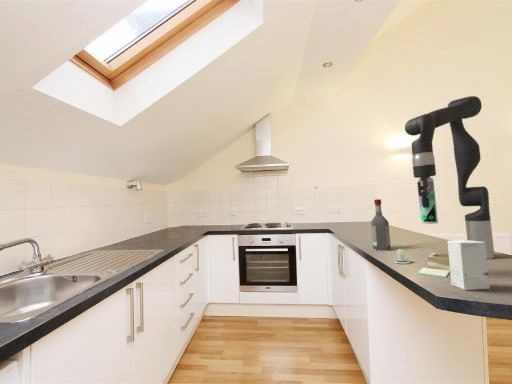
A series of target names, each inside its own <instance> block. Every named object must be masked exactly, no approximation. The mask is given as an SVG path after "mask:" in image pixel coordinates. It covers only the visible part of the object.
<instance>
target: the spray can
mask: <svg viewBox="0 0 512 384" xmlns="http://www.w3.org/2000/svg"><path fill="white" fill-rule="evenodd" d="M416 181H417V183H416V184H417V185H418V181H420V178H417V180H416ZM434 182H435V181H434V178H433V177H427V184H428V185H429V183H430V192H429V197H428V198H429V207H423V206H422V198H421V196H420V195H419V188H418V187H417V193H418V203H419V213H420V215H419V216H420V222H421V224H424V225H425V224H428V225H432V224H433V225H434V224H438V223H439V221H438V212H437V200H436V191H435V184H434ZM427 189H428V187H427ZM423 193H425V192H423Z"/></svg>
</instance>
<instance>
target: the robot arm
mask: <svg viewBox="0 0 512 384" xmlns="http://www.w3.org/2000/svg"><path fill="white" fill-rule="evenodd" d="M481 111H482V100H481V99H480V98H479V97H478V96H474V95H471V96H470V95H469V96H466V97H461V98H457V99H454V100H450V102H449V103H447V106H446V107H442V108H438V109H435V110H433V111H430V112H428V113H423V114H422V115H419V116H415V117H413V118H411V119H409V120H408V121H406V123H405V125H404V131H405V133H406V134H407V135H410V136H418V138H417V139H415V140H414V141H412V142H411V154H412V159H411V160H412V161H411V164H412V172H413V173H412V174H413V177H414V178H415V179H416V178H417V179H420V181H417V182H418V184H417V189H418V188H419V194H418V196H419V195H420V196H421V198H422V206H423V207H429V198H428V197H429V192H430V183H429V185H428V184H427V177H430V178H432V177H435V176H437V171H436V170H437V169H436V161H435V155H434V150H433V139H434V135H435V131H436V128H439V127H442V126H444V125H447V124H449V127H450V131H451V136H452V143H453V144H452V145H453V153H454V163H455V168H456V175H457V187H458V189H457V190H458V199H459V201H458V202H459V204H460V205H461V206H462V207H479V209H477V210H475V211H473V212H470V213H467V214H465V215H464V221H465V222H464V223H465V232H466V233H465V234H466V239H467V240H472V241H480V242H485V245H486V255H487V260H488V259H491V260H492V259H495V258H496V255H495V246H494V237H493V229H492V220H491V214H490V213H491V212H490V199H489V198H490V197H489V196H490V195H489V190H488V188H487V187H486V186H469V187H467V184H468V181H469V179H470V177H471V175H472V174H473V172H474V171H475V169H476V168H477V167H478V165H479V163H480V162H481V150H480V145H479V143H478V141H477V140H475V138H474V137H473V136H472V135H471V134H470V133H469V132H468V131H467V130H466V129H465V128H466V127H465V125H464V122H463V120H465V119H471V118H474V117H476V116H477V115H479V114H480V113H481ZM427 187H428V189H427ZM423 192H425V193H423Z"/></svg>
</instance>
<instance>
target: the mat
mask: <svg viewBox="0 0 512 384" xmlns="http://www.w3.org/2000/svg"><path fill="white" fill-rule="evenodd" d="M417 274H419V275H428V276H433V277H443V278H447V277H448V275H449V274H450V271H449V270H440V269H431V268H428V267H422V268H421V269H419V271H418V272H417Z"/></svg>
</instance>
